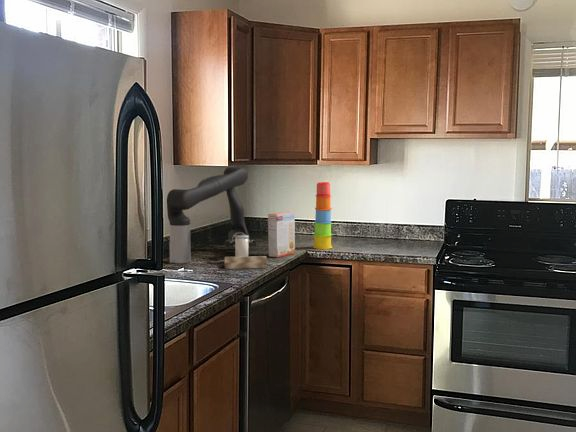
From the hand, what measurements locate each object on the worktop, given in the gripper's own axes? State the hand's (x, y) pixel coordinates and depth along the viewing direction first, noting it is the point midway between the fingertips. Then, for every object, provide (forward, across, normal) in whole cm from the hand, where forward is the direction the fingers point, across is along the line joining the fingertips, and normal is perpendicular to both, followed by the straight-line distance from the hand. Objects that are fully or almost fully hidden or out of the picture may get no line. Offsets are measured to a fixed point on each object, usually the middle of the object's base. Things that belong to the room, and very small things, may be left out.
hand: (241, 245), depth 288 cm
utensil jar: (+4, 0, +7) cm, 8 cm away
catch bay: (+16, +1, +7) cm, 17 cm away
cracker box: (-12, +20, +7) cm, 24 cm away
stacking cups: (-34, +44, +7) cm, 56 cm away
